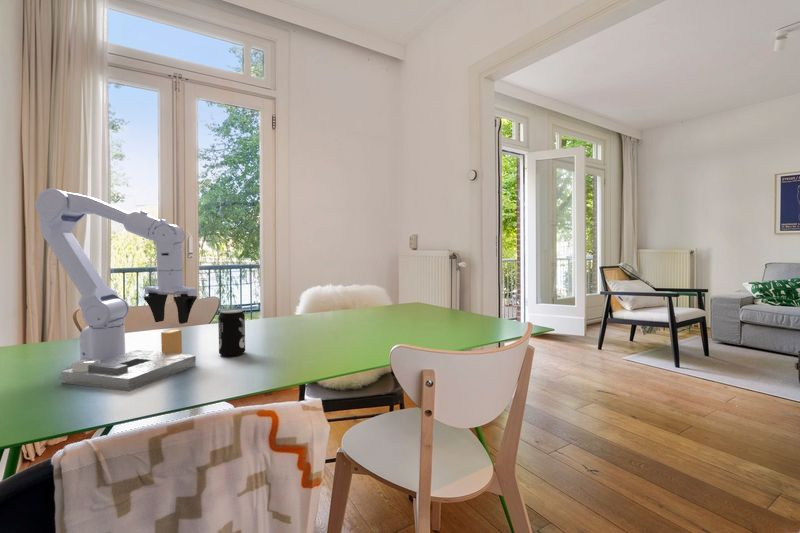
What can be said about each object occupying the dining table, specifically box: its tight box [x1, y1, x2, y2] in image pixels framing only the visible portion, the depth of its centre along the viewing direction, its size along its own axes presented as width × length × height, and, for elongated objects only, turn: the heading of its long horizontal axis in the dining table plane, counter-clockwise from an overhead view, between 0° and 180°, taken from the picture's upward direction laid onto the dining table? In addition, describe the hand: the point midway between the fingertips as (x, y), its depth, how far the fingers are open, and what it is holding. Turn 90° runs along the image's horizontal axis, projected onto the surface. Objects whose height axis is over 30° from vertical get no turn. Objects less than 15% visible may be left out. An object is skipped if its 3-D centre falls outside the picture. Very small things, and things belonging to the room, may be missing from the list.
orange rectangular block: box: [160, 329, 183, 354], centre depth 104 cm, size 2×4×7 cm, turn 165°
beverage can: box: [217, 308, 246, 358], centre depth 107 cm, size 7×7×12 cm
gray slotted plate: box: [60, 349, 197, 392], centre depth 91 cm, size 18×18×4 cm
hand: (171, 322), depth 104 cm, fingers open, 7 cm apart
